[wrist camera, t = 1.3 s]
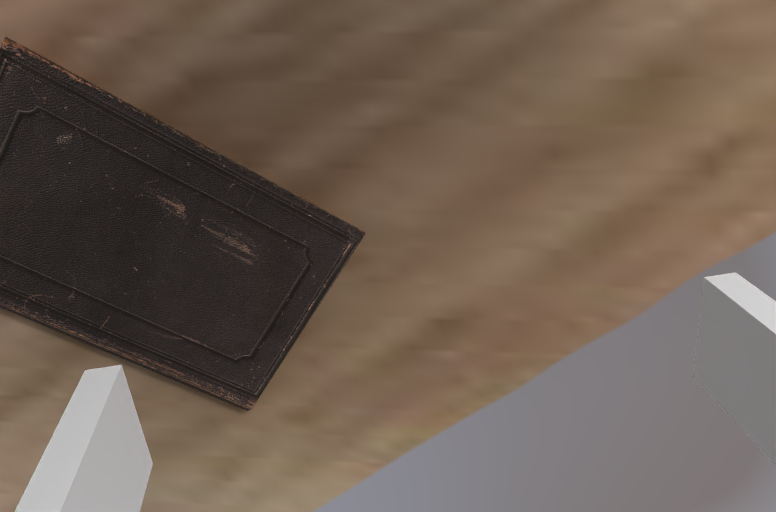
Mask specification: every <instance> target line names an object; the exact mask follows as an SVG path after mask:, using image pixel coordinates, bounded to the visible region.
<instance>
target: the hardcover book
mask: <svg viewBox="0 0 776 512" xmlns="http://www.w3.org/2000/svg"><path fill="white" fill-rule="evenodd" d="M364 235H365V232H363V231H361V230H360V229H358V228H356V227H354V226H353V225H351V224H349V223H347V222H345V221H343V220H342V219H340V218H338V217H336V216H334V215H332V214H331V213H329V212H327V211H325V210H323V209H321V208H320V207H318V206H316V205H314V204H312V203H310V202H309V201H307V200H305V199H303V198H301V197H299V196H298V195H296V194H294V193H292V192H290V191H288V190H286V189H285V188H283V187H281V186H279V185H277V184H275V183H274V182H272V181H270V180H268V179H266V178H264V177H263V176H261V175H259V174H257V173H255V172H253V171H252V170H250V169H248V168H246V167H244V166H242V165H241V164H239V163H237V162H235V161H233V160H231V159H230V158H228V157H226V156H224V155H222V154H220V153H219V152H217V151H215V150H213V149H211V148H209V147H207V146H206V145H204V144H202V143H200V142H198V141H196V140H195V139H193V138H191V137H189V136H187V135H185V134H184V133H182V132H180V131H178V130H176V129H174V128H173V127H171V126H169V125H167V124H165V123H163V122H162V121H160V120H158V119H156V118H154V117H152V116H151V115H149V114H147V113H145V112H143V111H141V110H139V109H138V108H136V107H134V106H132V105H130V104H128V103H127V102H125V101H123V100H121V99H119V98H117V97H116V96H114V95H112V94H110V93H108V92H106V91H105V90H103V89H101V88H99V87H97V86H95V85H94V84H92V83H90V82H88V81H86V80H84V79H83V78H81V77H79V76H77V75H75V74H73V73H72V72H70V71H68V70H66V69H64V68H62V67H60V66H59V65H57V64H55V63H53V62H51V61H49V60H48V59H46V58H44V57H42V56H40V55H38V54H37V53H35V52H33V51H31V50H29V49H27V48H26V47H24V46H22V45H20V44H18V43H16V42H15V41H13V40H11V39H9V38H7V37H6V38H5V39H4V41H3V43H2V46H1V48H0V307H1V308H3V309H6V310H8V311H11V312H13V313H15V314H18V315H20V316H23V317H25V318H27V319H30V320H32V321H34V322H37V323H39V324H42V325H44V326H46V327H49V328H51V329H54V330H56V331H58V332H61V333H63V334H66V335H68V336H70V337H73V338H75V339H77V340H80V341H82V342H85V343H87V344H89V345H92V346H94V347H97V348H99V349H101V350H104V351H106V352H109V353H111V354H113V355H116V356H118V357H121V358H123V359H125V360H128V361H130V362H132V363H135V364H137V365H140V366H142V367H144V368H147V369H149V370H152V371H154V372H156V373H159V374H161V375H164V376H166V377H168V378H171V379H173V380H175V381H178V382H180V383H183V384H185V385H187V386H190V387H192V388H195V389H197V390H199V391H202V392H204V393H207V394H209V395H211V396H214V397H216V398H218V399H221V400H223V401H226V402H228V403H230V404H233V405H235V406H238V407H240V408H242V409H245V410H247V411H249V410H251V409H252V407H253V406H254V404H255V403H256V401H257V400H258V398H259V397H260V395H261V394H262V392H263V390H264V389H265V387H266V386H267V384H268V383H269V381H270V380H271V378H272V377H273V375H274V373H275V372H276V370H277V369H278V367H279V366H280V364H281V363H282V361H283V360H284V358H285V357H286V355H287V353H288V352H289V350H290V349H291V347H292V346H293V344H294V343H295V341H296V340H297V338H298V336H299V335H300V333H301V332H302V330H303V329H304V327H305V326H306V324H307V323H308V321H309V319H310V318H311V316H312V315H313V313H314V312H315V310H316V309H317V307H318V306H319V304H320V303H321V301H322V299H323V298H324V296H325V295H326V293H327V292H328V290H329V289H330V287H331V286H332V284H333V282H334V281H335V279H336V278H337V276H338V275H339V273H340V272H341V270H342V269H343V267H344V266H345V264H346V262H347V261H348V259H349V258H350V256H351V255H352V253H353V252H354V250H355V249H356V247H357V245H358V244H359V242H360V241H361V239H362V238H363V236H364Z"/></svg>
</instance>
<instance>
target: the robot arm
mask: <svg viewBox="0 0 776 512" xmlns="http://www.w3.org/2000/svg"><path fill="white" fill-rule="evenodd" d="M693 377H694V379H695V380H696V381H697V382H698V383H699V384H700V385H701V386H702V387H703V388H704V389H705V390H706V391H707V392H708V394H709V395H710V396H711V397H712V398H713V399H714V400H715V401H716V402H717V403H718V404H719V405H720V406H721V407H722V408H723V410H724V411H725V412H726V413H727V414H728V415H729V416H730V417H731V418H732V419H733V420H734V421H735V422H736V423H737V424H738V425H739V426H740V427H741V429H742V430H743V431H744V432H745V433H746V434H747V435H748V436H749V437H750V438H751V439H752V440H753V441H754V443H755V444H756V445H757V446H758V447H759V448H760V449H761V450H762V451H763V452H764V453H765V454H766V455H767V456H768V457H769V458H770V460H772V462H773V463H774V464H775V465H776V302H775V301H774V300H773V299H771V298H770V297H769V296H767V295H766V294H765V293H763V292H762V291H761V290H759V289H758V288H756V287H755V286H754V285H752V284H751V283H749V282H748V281H747V280H745V279H744V278H743V277H741V276H740V275H738V274H737V273H730V274H723V275H716V276H709V277H704V283H703V291H702V300H701V309H700V317H699V327H698V334H697V343H696V352H695V361H694V369H693ZM152 465H153V463H152V459H151V456H150V453H149V450H148V447H147V444H146V440H145V437H144V434H143V431H142V428H141V425H140V421H139V418H138V415H137V412H136V409H135V406H134V403H133V399H132V396H131V393H130V390H129V387H128V384H127V380H126V377H125V374H124V371H123V368H122V365H116V366H109V367H103V368H96V369H89V370H85V371H84V373H83V375H82V377H81V379H80V381H79V383H78V385H77V387H76V389H75V391H74V393H73V395H72V397H71V399H70V401H69V403H68V405H67V407H66V409H65V411H64V413H63V415H62V417H61V419H60V421H59V423H58V425H57V427H56V429H55V431H54V434H53V436H52V438H51V440H50V442H49V444H48V446H47V448H46V450H45V452H44V454H43V456H42V458H41V460H40V462H39V464H38V466H37V468H36V470H35V472H34V474H33V476H32V478H31V480H30V482H29V484H28V486H27V488H26V490H25V492H24V494H23V496H22V498H21V500H20V502H19V504H18V506H17V508H16V510H15V512H140V509H141V505H142V502H143V498H144V494H145V491H146V487H147V483H148V480H149V476H150V472H151V469H152Z"/></svg>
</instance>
